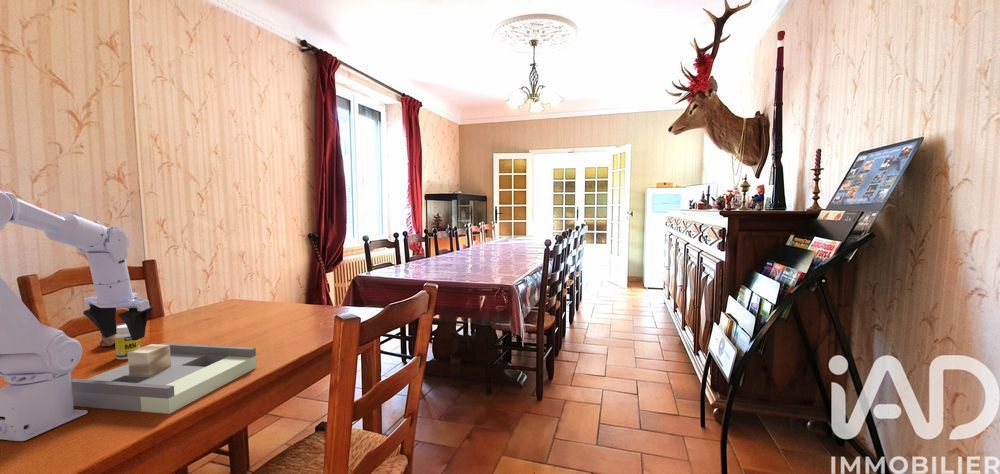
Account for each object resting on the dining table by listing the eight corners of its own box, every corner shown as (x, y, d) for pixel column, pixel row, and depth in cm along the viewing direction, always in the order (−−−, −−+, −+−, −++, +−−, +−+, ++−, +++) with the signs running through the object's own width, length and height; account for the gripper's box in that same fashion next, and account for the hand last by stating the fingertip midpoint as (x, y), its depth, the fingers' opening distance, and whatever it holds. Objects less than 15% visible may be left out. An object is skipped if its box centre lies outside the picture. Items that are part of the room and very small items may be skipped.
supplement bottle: (125, 360, 102) (123, 328, 101) (111, 359, 103) (108, 327, 102) (145, 353, 106) (143, 323, 106) (131, 352, 107) (129, 322, 107)
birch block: (148, 375, 85) (147, 353, 85) (129, 374, 86) (127, 351, 86) (171, 366, 90) (169, 345, 90) (152, 365, 91) (150, 344, 91)
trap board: (169, 413, 75) (167, 388, 75) (57, 404, 79) (55, 380, 79) (256, 367, 97) (255, 347, 96) (165, 362, 101) (163, 342, 100)
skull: (102, 340, 118) (100, 320, 118) (137, 334, 123) (135, 315, 123) (97, 351, 109) (96, 329, 109) (135, 344, 114) (134, 324, 114)
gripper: (158, 276, 89) (169, 331, 92) (104, 272, 91) (116, 326, 94) (125, 287, 82) (137, 346, 86) (67, 283, 84) (82, 340, 88)
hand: (124, 337), depth 89 cm, fingers open, 7 cm apart
